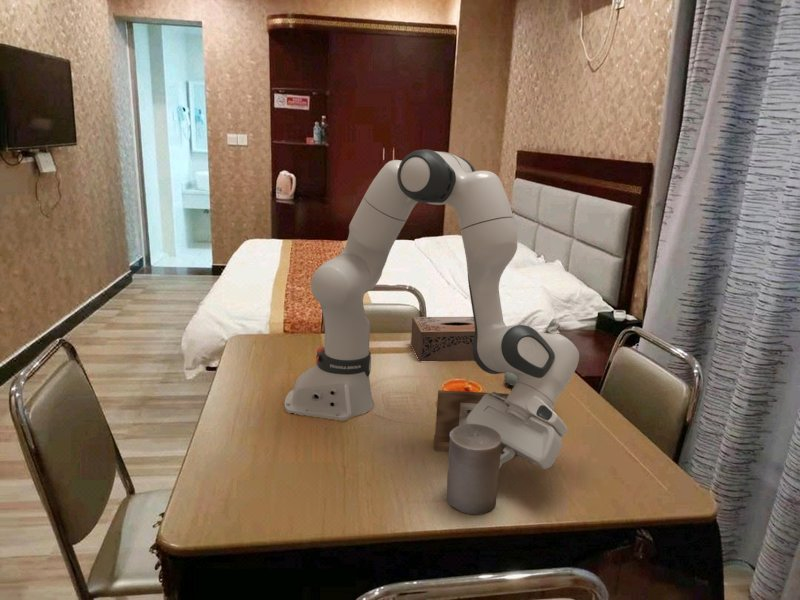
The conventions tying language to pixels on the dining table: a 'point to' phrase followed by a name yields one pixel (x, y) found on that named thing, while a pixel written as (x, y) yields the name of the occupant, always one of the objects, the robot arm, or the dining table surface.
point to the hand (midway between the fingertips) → (491, 465)
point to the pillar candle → (473, 468)
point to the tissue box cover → (443, 338)
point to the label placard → (454, 414)
